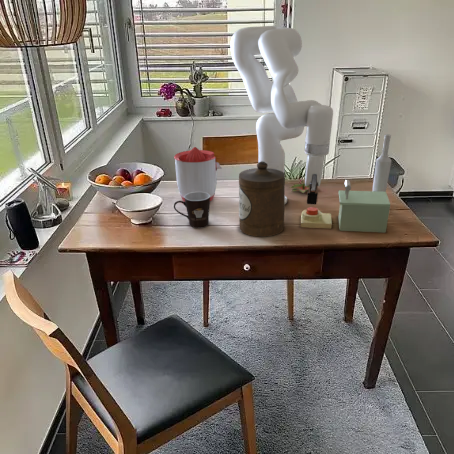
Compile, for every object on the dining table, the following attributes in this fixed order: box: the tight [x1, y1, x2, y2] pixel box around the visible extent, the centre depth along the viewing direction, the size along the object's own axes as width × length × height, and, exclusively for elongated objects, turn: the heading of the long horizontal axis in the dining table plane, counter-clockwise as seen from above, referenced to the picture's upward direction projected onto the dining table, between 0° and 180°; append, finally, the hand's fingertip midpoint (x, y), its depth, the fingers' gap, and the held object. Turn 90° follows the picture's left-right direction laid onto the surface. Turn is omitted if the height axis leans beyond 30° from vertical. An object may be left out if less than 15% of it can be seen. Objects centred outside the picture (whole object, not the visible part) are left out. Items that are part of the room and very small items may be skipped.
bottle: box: [371, 133, 392, 193], centre depth 166 cm, size 5×5×25 cm
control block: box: [300, 209, 333, 229], centre depth 160 cm, size 10×9×4 cm
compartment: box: [337, 204, 391, 234], centre depth 156 cm, size 15×12×9 cm
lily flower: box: [289, 178, 309, 194], centre depth 187 cm, size 12×12×5 cm
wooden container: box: [238, 161, 286, 238], centre depth 152 cm, size 15×15×22 cm
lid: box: [337, 179, 391, 208], centre depth 152 cm, size 16×12×5 cm
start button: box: [306, 206, 319, 215], centre depth 159 cm, size 4×4×2 cm
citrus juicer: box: [173, 146, 223, 202], centre depth 176 cm, size 16×17×20 cm
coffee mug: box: [173, 192, 211, 229], centre depth 159 cm, size 12×9×10 cm
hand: (311, 203), depth 158 cm, fingers closed
